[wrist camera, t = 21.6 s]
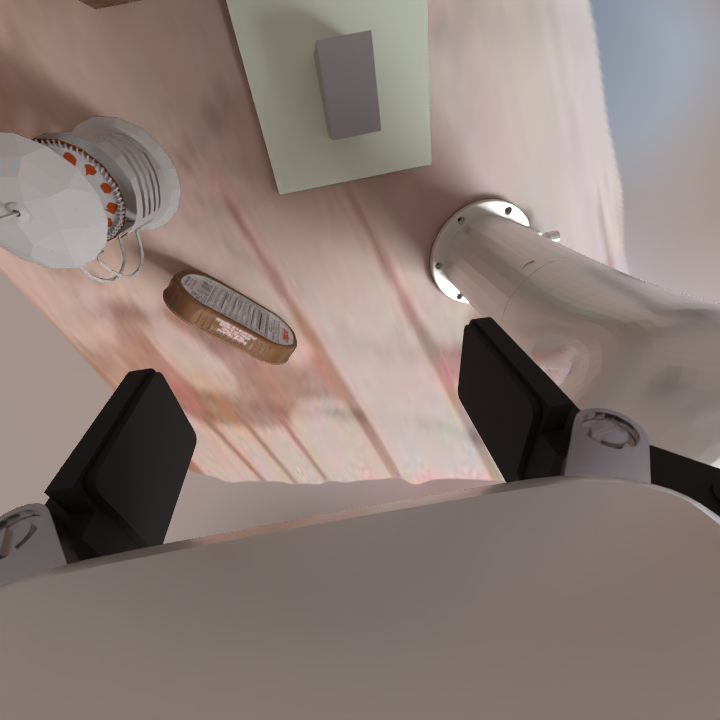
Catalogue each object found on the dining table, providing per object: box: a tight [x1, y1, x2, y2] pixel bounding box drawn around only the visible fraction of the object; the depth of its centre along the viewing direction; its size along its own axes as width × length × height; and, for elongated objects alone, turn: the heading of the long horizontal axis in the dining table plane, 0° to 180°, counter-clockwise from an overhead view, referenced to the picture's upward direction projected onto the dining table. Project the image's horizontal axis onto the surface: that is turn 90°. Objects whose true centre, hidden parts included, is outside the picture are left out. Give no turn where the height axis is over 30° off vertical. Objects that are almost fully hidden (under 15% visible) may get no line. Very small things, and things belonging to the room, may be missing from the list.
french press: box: [0, 116, 181, 283], centre depth 23 cm, size 10×12×25 cm
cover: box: [226, 0, 432, 195], centre depth 29 cm, size 16×14×8 cm
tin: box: [163, 271, 297, 365], centre depth 38 cm, size 15×3×8 cm, turn 51°
